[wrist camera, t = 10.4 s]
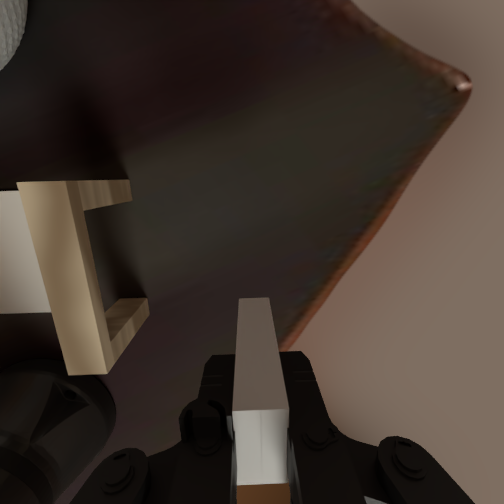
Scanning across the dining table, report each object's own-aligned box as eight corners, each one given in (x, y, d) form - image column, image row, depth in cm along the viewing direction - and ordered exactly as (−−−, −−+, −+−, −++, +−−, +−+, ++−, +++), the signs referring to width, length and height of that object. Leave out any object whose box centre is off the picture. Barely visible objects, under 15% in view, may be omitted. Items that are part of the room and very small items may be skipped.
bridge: (129, 179, 25) (65, 180, 16) (149, 314, 29) (107, 373, 20) (97, 180, 25) (16, 182, 16) (122, 314, 29) (68, 375, 20)
